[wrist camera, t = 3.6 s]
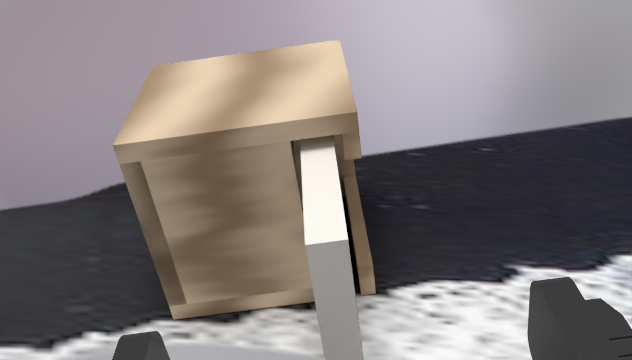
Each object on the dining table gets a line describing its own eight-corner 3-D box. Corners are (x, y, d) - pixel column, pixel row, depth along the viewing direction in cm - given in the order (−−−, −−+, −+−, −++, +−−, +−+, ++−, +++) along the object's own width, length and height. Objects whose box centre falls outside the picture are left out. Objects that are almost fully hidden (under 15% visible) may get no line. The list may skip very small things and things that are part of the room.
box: (173, 319, 33) (112, 145, 28) (196, 215, 42) (153, 65, 36) (375, 293, 33) (357, 111, 27) (357, 194, 41) (339, 39, 36)
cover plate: (334, 409, 27) (305, 245, 22) (321, 255, 36) (298, 115, 32) (369, 405, 27) (347, 239, 22) (347, 251, 36) (329, 111, 31)
